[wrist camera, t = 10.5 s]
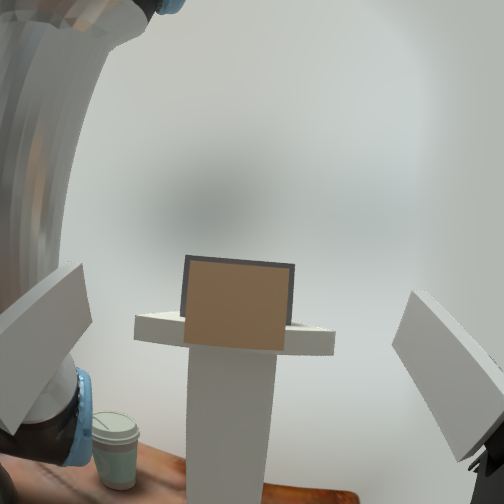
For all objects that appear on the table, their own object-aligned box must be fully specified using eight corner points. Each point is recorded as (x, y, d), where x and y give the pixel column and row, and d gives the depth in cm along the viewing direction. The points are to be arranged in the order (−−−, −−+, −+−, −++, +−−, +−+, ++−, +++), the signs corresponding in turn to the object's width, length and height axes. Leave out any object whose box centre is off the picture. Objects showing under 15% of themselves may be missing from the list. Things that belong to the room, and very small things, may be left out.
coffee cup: (93, 464, 32) (86, 406, 34) (141, 468, 35) (137, 411, 37) (91, 492, 24) (79, 429, 26) (146, 496, 28) (141, 435, 30)
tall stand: (279, 592, 11) (335, 331, 16) (159, 584, 10) (135, 315, 16) (268, 532, 23) (295, 320, 28) (175, 525, 22) (175, 311, 28)
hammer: (359, 351, 8) (363, 214, 9) (108, 331, 8) (126, 194, 9) (277, 320, 27) (280, 273, 28) (193, 313, 27) (197, 267, 28)
